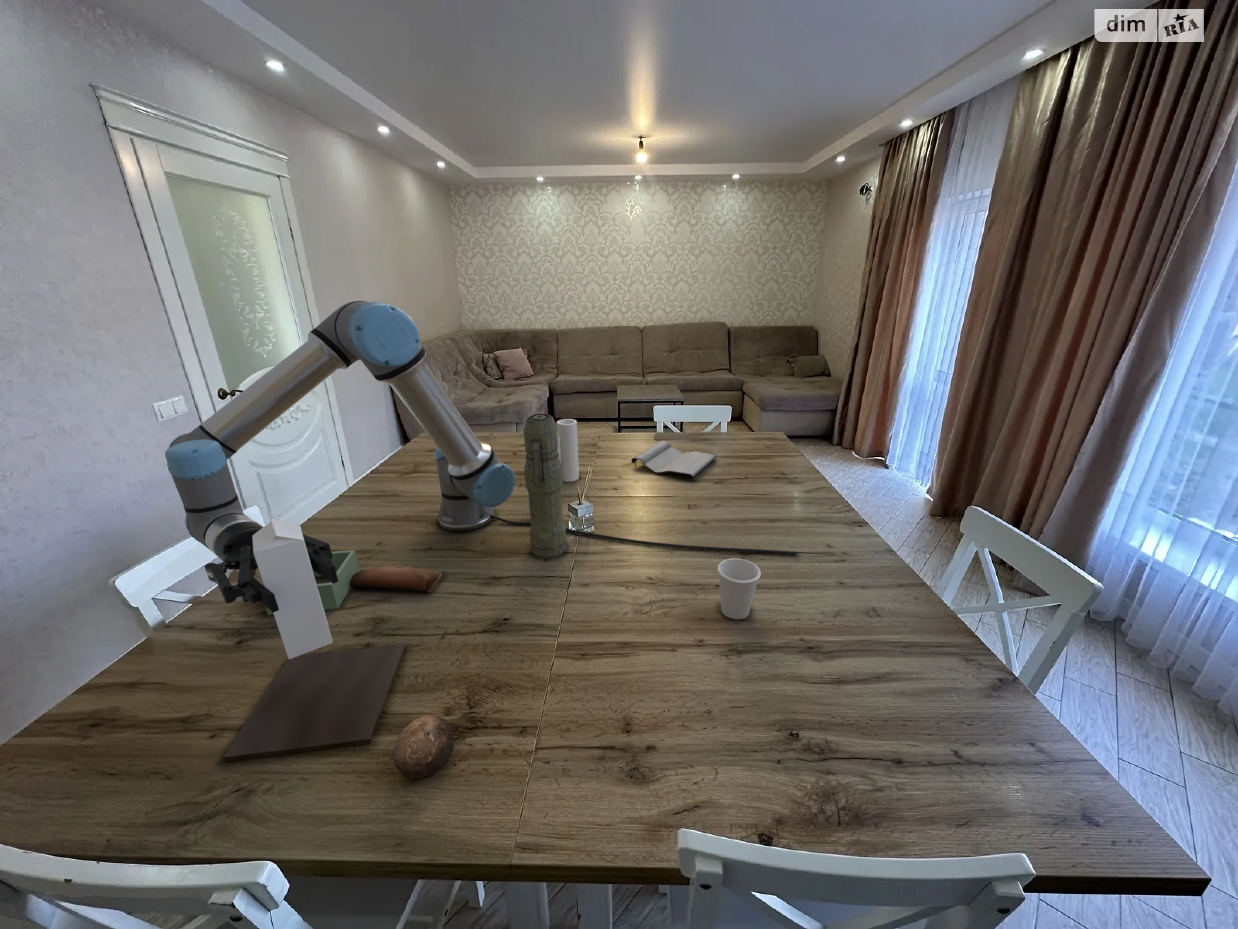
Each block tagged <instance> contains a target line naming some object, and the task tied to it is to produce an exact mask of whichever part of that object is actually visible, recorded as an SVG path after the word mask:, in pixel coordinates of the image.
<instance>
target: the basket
mask: <svg viewBox="0 0 1238 929" xmlns="http://www.w3.org/2000/svg"><path fill="white" fill-rule="evenodd" d="M331 552H332V556H333V557H332V558H331V562H332V565H333V566H335V570H336V574H337V578H338V582H336V583H334V584H333V583H332V582H330V581H328V582H324V583H316V584H317V587H318V591H319V595H320V598H321V602H322V605H323V609H324V611H326V610H327V611H328V610H337V609H339V608H340V606H341V605H342V603H343V601H344V599H345V597H346V596H347V595H348V593H349V591H350V589H351V588H352V587H351V585H350V581H351V578H352V576H353V575H354V574H355V573H357V572H360V571H361V569H360V564H359V560H358V556H357V552H356V550H355V549H352V550H351V549H349V550H335V551H331ZM311 566H312V565H311ZM312 570H313V568H312ZM313 573H314V577H315V578H322V577H323V576H321V575H320V574H318V573H317V572H315V571H314V570H313ZM323 578H324V577H323ZM264 607H265V610H266V613H267V615H268V616H272V615H273V616H274V614H273V612H272V611H271V610H269V609H268V608H267V607H266V606H265V605H264Z"/></svg>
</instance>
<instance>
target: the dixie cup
mask: <svg viewBox="0 0 1238 929" xmlns="http://www.w3.org/2000/svg"><path fill="white" fill-rule="evenodd" d="M717 572H718V580H719V595H720V596H719V598H720V610H721V612H722V615H724V616H725V617H727V618H730V619H732V620H743V619H746V618H748V617H749V614H750V611H751V607H752V605H753V604H752V603H753V599H754V596H755V594H756V589H757V586H758V582H759V579H760V578H761V576H762V575H761V574H762V572H761V569H760V568H759V566H758V565H757V564H755V563H754V562H752V561H751V560H747V559H744V558H734V557H733V558H728V559H724V560H722V561H720V563H719V564H718V566H717Z"/></svg>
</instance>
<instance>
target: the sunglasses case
mask: <svg viewBox="0 0 1238 929" xmlns="http://www.w3.org/2000/svg"><path fill="white" fill-rule="evenodd" d="M442 577H443V573H442V572H440V571H436V570H433V569H428V568H420V567H411V566H410V565H402V564H393V565H380V566H379V565H378V566H375V567H371V568H367V569H363V570H360V572H357V573H355V574H354V575H353V576H352V578H351V581H350V585H351V588H352V589H358V588H359V589H378V588H379V589H387V590H402V591H415V592H428V593H432V591H433V590H434V589H435V587H436V586H437V585H438V583H439V582H440V580H441V579H442Z"/></svg>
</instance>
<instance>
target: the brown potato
mask: <svg viewBox="0 0 1238 929" xmlns="http://www.w3.org/2000/svg"><path fill="white" fill-rule="evenodd" d="M454 745H455V735H454V731H453V728H452V726H451V725H450V723H449V722H448V721H447V720H446V719H445V718H443V717H442V716H440V715H438V714H425V715H423V716H422V715H421V716H420V717H418V718H415V719H413V720H412V721H411V722H410V723H408V725H407V726H406V727H404V728H403V729H402V731H401V732H400V734H399V735H398V737H397V739H396V740H395V743H394V748H393V751H392V758H393V762H394V766H395V768H396V769H397V770H398V771H399V772H400V773H401V775H402V776H405V777H407V778H410V779H414V780H415V779H420V778H426V777H428V776H430V775H432V774H434V773H435V772H437V771H438V770H440V769H441V768H442V767H444V765H446V764H447V762H448V761H449V760H450V757H451V755H452V754H453V751H454Z"/></svg>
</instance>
